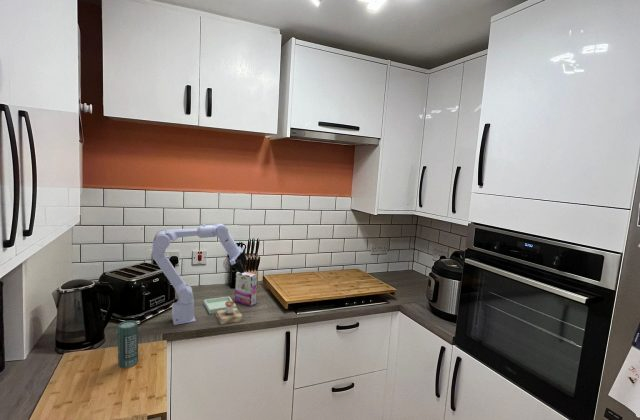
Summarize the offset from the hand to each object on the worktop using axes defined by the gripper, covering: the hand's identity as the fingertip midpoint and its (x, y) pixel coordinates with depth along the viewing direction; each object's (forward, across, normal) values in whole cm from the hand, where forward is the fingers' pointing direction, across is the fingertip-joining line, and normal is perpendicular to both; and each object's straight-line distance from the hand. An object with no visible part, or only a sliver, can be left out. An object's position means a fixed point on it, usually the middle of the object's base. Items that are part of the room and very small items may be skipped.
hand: (244, 268), depth 169 cm
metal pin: (+16, -12, +15) cm, 25 cm away
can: (-5, -51, +34) cm, 61 cm away
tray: (+15, 0, +23) cm, 27 cm away
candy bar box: (+22, +7, +14) cm, 27 cm away
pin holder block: (+16, -12, +15) cm, 25 cm away
